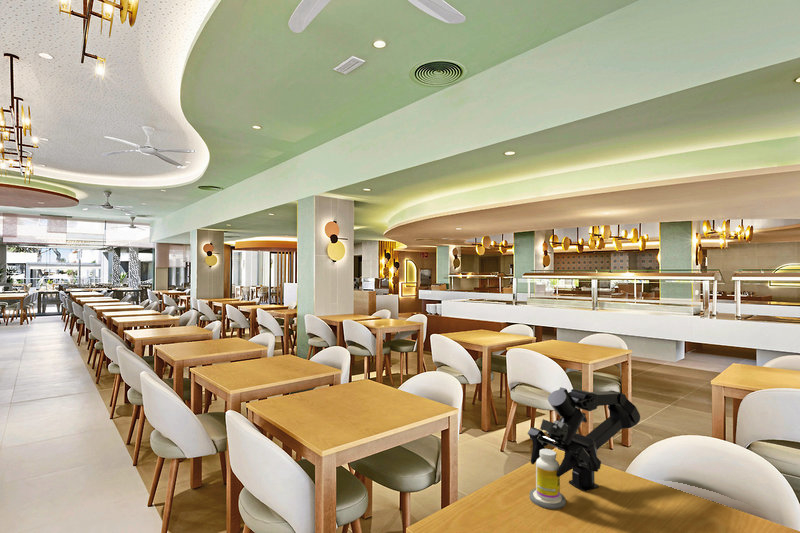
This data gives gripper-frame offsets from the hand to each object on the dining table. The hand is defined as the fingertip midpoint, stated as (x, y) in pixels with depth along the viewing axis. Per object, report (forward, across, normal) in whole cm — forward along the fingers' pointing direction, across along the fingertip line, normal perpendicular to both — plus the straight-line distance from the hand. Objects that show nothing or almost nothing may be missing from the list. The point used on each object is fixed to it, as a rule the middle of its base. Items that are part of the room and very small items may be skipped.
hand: (544, 469), depth 122 cm
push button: (+5, 0, +7) cm, 9 cm away
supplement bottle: (+5, 0, +7) cm, 8 cm away
